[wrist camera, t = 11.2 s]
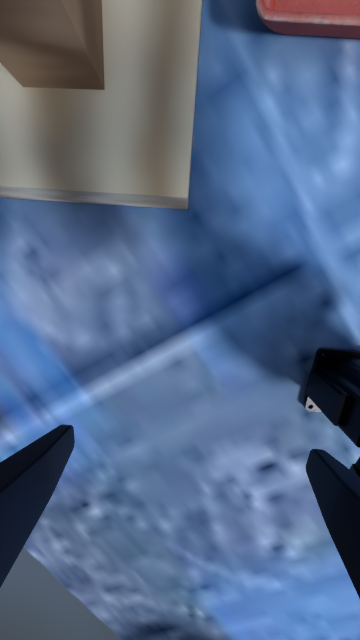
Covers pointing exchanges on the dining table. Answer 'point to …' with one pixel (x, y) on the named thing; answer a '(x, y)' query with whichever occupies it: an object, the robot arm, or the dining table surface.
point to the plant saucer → (312, 17)
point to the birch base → (111, 116)
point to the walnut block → (53, 43)
